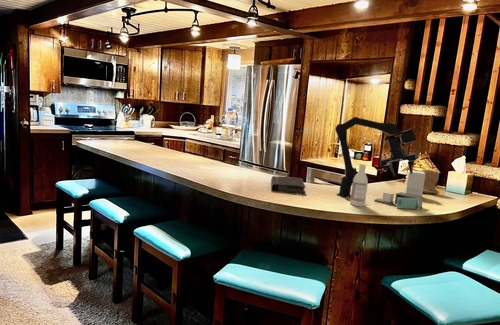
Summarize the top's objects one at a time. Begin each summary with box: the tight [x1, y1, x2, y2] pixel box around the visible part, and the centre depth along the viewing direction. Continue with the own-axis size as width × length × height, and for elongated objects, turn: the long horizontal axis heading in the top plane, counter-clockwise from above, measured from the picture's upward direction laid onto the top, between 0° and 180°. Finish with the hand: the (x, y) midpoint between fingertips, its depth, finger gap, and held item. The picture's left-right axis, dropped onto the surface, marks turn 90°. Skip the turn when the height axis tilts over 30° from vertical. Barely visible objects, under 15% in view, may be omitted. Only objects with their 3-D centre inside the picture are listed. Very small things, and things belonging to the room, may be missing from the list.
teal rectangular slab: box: [395, 197, 417, 210], centre depth 187 cm, size 10×2×5 cm, turn 101°
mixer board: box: [373, 198, 395, 206], centre depth 198 cm, size 6×8×1 cm
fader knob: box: [381, 191, 395, 202], centre depth 197 cm, size 4×4×5 cm
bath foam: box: [349, 163, 369, 208], centre depth 184 cm, size 7×7×20 cm
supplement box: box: [404, 169, 425, 197], centre depth 224 cm, size 9×9×15 cm
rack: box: [394, 192, 424, 210], centre depth 195 cm, size 9×12×6 cm
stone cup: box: [421, 168, 440, 194], centre depth 242 cm, size 15×12×15 cm
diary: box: [270, 175, 306, 195], centre depth 211 cm, size 19×25×5 cm
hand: (403, 175), depth 199 cm, fingers open, 9 cm apart
